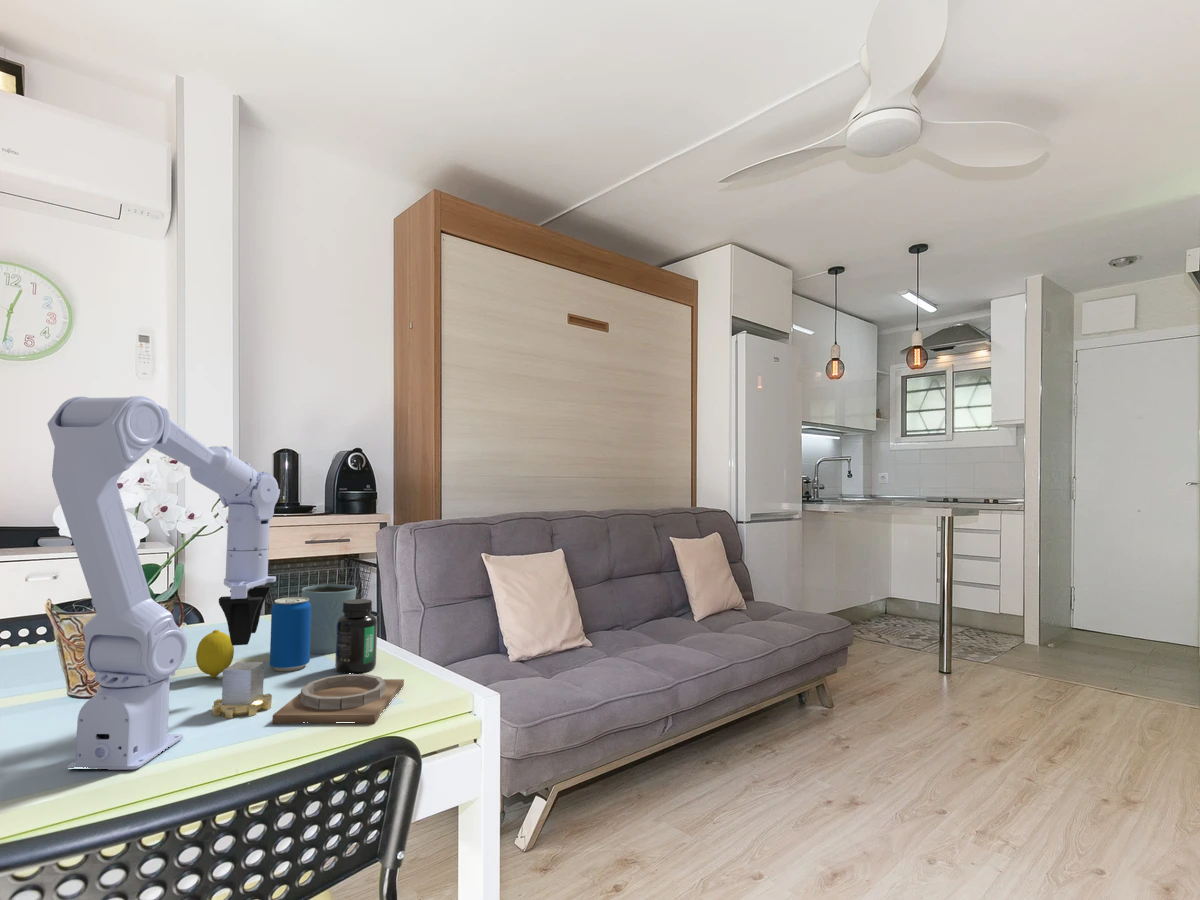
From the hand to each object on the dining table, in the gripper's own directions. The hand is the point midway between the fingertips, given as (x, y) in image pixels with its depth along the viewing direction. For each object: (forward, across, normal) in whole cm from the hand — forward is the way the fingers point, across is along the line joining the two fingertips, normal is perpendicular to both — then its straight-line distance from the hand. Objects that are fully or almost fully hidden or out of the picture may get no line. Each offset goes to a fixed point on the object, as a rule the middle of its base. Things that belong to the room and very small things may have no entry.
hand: (244, 638), depth 100 cm
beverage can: (+10, +17, -5) cm, 20 cm away
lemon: (+10, +14, +6) cm, 18 cm away
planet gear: (+9, -3, -1) cm, 10 cm away
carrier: (+9, -6, -14) cm, 18 cm away
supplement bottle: (+10, +12, -16) cm, 23 cm away
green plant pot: (+9, +29, -11) cm, 32 cm away
